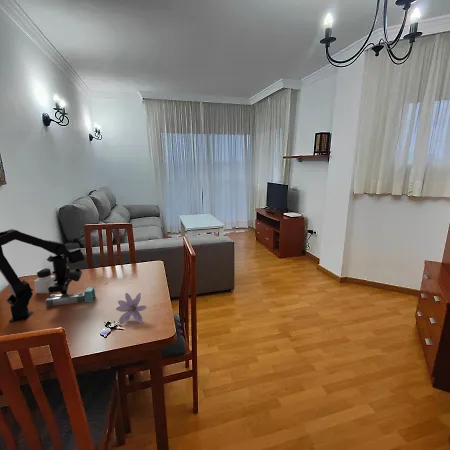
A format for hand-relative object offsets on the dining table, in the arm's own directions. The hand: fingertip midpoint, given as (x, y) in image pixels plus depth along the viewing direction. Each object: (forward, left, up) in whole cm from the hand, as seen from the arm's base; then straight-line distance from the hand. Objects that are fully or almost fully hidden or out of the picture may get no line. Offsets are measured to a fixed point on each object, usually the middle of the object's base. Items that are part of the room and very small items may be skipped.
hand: (65, 296), depth 129 cm
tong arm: (-1, 0, -2) cm, 2 cm away
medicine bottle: (+13, +14, -2) cm, 19 cm away
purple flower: (-26, -35, -2) cm, 43 cm away
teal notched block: (-3, -12, -1) cm, 13 cm away
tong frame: (-4, -2, -2) cm, 5 cm away
